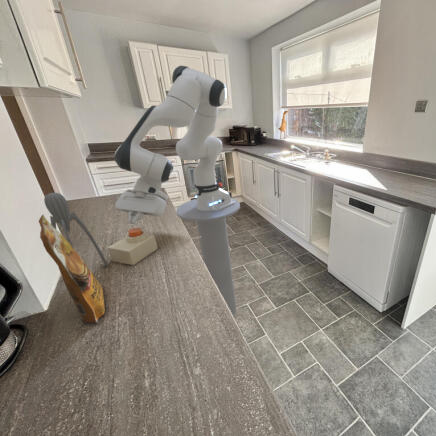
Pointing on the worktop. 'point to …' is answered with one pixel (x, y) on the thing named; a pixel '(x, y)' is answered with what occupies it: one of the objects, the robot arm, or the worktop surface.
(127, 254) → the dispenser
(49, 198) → the citrus juicer
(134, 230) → the nozzle
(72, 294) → the pancake mix bag
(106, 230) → the worktop surface
